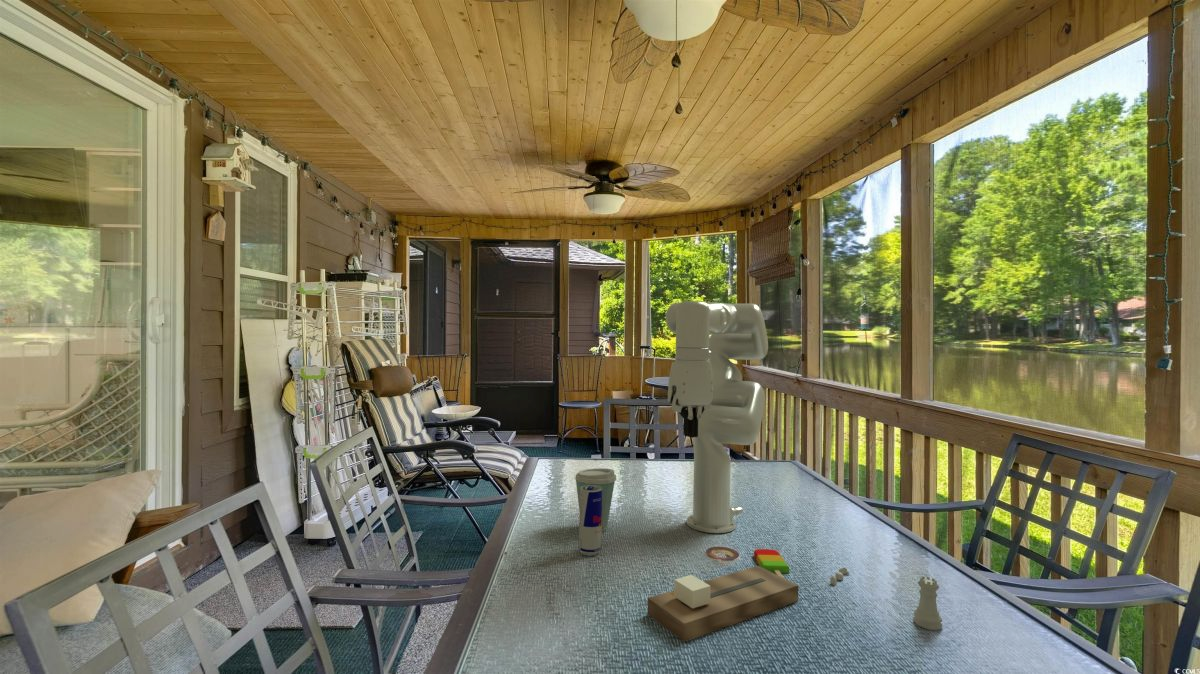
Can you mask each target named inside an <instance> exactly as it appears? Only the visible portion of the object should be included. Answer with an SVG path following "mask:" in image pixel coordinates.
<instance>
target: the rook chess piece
mask: <svg viewBox="0 0 1200 674" xmlns="http://www.w3.org/2000/svg"><path fill="white" fill-rule="evenodd" d="M917 584H918V586H919V587H920V589H919V590H918V593H919V594H920V595H919V596H920V597H919V602H918V606H917V607H916V609H915V610H913V617H912V619H913V621H914V623H915V624H916V626H918V627H920V628H922V629H923V630H928V631H933V632H934V631H935V632H936V631H939V630H941V628H943V624H942V622H943V618H942V616H941V615H940V611H939V610H938V605H937V597H938V593H937V590H939V589H940V586H939V584H938V580H936V579H935V578H934V577H932V578H931V577H930V576H926V578H925V576H924V575H923V576H921V577H920V578H919V580H918V581H917Z"/></svg>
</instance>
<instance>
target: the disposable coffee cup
mask: <svg viewBox="0 0 1200 674" xmlns="http://www.w3.org/2000/svg"><path fill="white" fill-rule="evenodd" d="M574 479H575V484H576V491H577V499H578V500H577V502H578V512H579V513H580V487H582V486H585V485H596V486H600V487H602V531H601V533H602V532H604V531H606V529H607V527H608V524H609V517H610V513H611V511H610V510H611V506H612V501H613V500H612V499H613V495H614V494H613V493H614V488H615V482H616V481H617V475H616V474H615V470H614V469H611V468H601V467H599V468H596V467H595V468H593V467H592V468H585V469H581V470H579V471H578V472H577V473H576V475H575V478H574Z"/></svg>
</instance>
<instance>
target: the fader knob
mask: <svg viewBox="0 0 1200 674" xmlns="http://www.w3.org/2000/svg"><path fill="white" fill-rule="evenodd" d="M673 590H674V597H676V598H677V599H679V600H680V601H682V602H683V603H685V604H686V605H688V606H690V607H691V608H696V607H699V606H702V605H705V604H708V603H710V585H708V584H707V583H705V582H704V581H703V580H702V579H700V578H698V577H697V576H695V575H692V574H690V575H686V576H682V577H678V578H675V579H674V585H673Z"/></svg>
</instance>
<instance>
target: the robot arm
mask: <svg viewBox="0 0 1200 674" xmlns="http://www.w3.org/2000/svg"><path fill="white" fill-rule="evenodd" d="M763 314H764V313H763V312H762V309H761V308H760V307H759V306H758V305H757V304H756V303H725V302H724V303H723V302H717V301H714V302H713V301H711V302H706V301H700V300H699V301H696V300H695V301H694V300H693V301H690V300H689V301H681V302H674V303H672V304H670V305H669V306H668V308H667V310H666V313H665V322H666V323H665V324H666V326H667V328H668V330H669V331H670V332H671V333H673V334H675V360H674V361H672V363H671V367H670V370H669V375H668V376H669V377H668V386H667V402H668V404H669V405H671V408H670V410H671V411H673V412H676V413H678V414H679V415H680V417H681V419H683V426H682V427H683V428H682V429H683V433H682V434H683V436H684V437H688V438H692V439H693V441H692V442H693V491H692V492H693V494H692V496H693V500H692V503H693V504H692V514H691V515H689V516H688V517H687V519H686V524H687V525H688V527H690V528H691V529H693V530H695V531H698V532H703V533H708V534H725V533H729V532H732V531H734V530H735V529H736V528H737V527H736V526H737V525H736V521H735V520H734V519H733V517H735V516H737V515H738V516H739V515H742V514H743V508H742V507H741V506H737V507H732V506H731V473H732V472H731V469H732V468H731V467H732V466H731V465H732V464H731V463H732V462H731V461H732V460H731V458H730V455H729V452H728V451H727V449H726V448H725V446H724V445H723V444H732V445H740V446H751V445H753V444H755V443H756V442H757V440H758V438H759V435H760V431H761V426H762V420H763V416H764V411H765V406H766V405H765V403H766V401H765V400H766V396H765V395H766V394H765V391H764V388H763V386H762V385H761V384H760V383H758V382H756V381H750V380H743V375H742V372H741V370H740V369H739V368H738V367H737V366H736V365H735V363H733V362H732V361H731V360H745V361H746V360H747V361H748V360H749V361H751V360H752V361H759V360H763V359H764V358H765V357H766V356H767V355H768V351H769V342H768V341H769V339H768V335H767V328H766V323H765V322H766V321H765V319H764V315H763Z"/></svg>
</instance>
